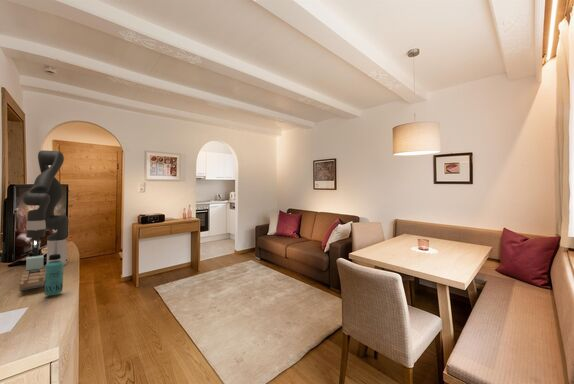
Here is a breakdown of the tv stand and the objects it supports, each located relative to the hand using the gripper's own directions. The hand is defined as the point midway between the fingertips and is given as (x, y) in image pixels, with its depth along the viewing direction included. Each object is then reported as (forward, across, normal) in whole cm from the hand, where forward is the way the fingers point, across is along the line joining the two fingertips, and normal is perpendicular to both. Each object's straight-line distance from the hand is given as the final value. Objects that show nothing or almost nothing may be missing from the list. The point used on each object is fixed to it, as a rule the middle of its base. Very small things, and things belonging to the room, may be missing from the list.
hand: (35, 259), depth 136 cm
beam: (+12, +14, 0) cm, 18 cm away
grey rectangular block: (+5, +6, 0) cm, 8 cm away
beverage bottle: (+12, +34, +7) cm, 37 cm away
